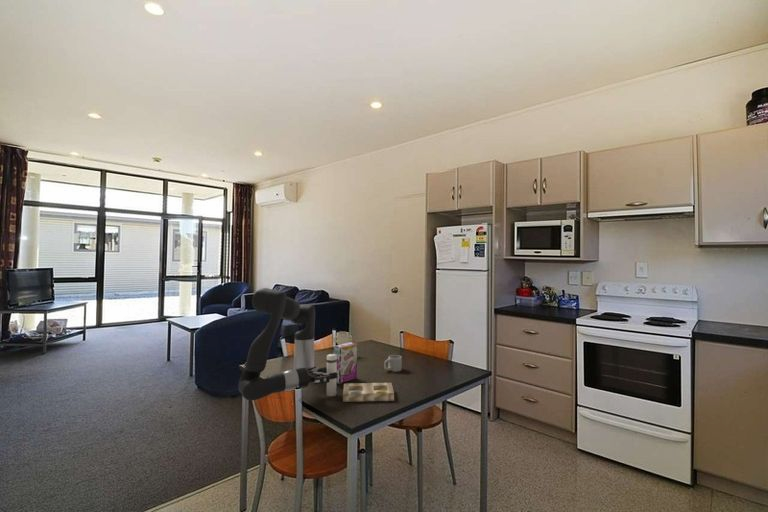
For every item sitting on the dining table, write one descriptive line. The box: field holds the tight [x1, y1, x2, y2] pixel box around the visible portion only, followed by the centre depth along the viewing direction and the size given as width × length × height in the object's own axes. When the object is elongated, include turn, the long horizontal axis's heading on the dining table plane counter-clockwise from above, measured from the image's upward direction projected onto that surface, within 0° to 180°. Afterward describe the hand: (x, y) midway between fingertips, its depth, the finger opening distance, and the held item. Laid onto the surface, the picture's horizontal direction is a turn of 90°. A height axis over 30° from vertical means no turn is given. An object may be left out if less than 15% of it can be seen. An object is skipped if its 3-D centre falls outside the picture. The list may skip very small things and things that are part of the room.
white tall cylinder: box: [326, 353, 337, 397], centre depth 149 cm, size 4×4×16 cm
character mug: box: [333, 331, 353, 345], centre depth 209 cm, size 11×7×13 cm, turn 110°
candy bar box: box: [332, 341, 358, 385], centre depth 167 cm, size 11×5×16 cm, turn 141°
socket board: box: [342, 382, 395, 403], centre depth 148 cm, size 20×12×3 cm, turn 94°
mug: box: [383, 354, 403, 373], centre depth 182 cm, size 10×7×7 cm
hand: (332, 372), depth 150 cm, fingers open, 8 cm apart
